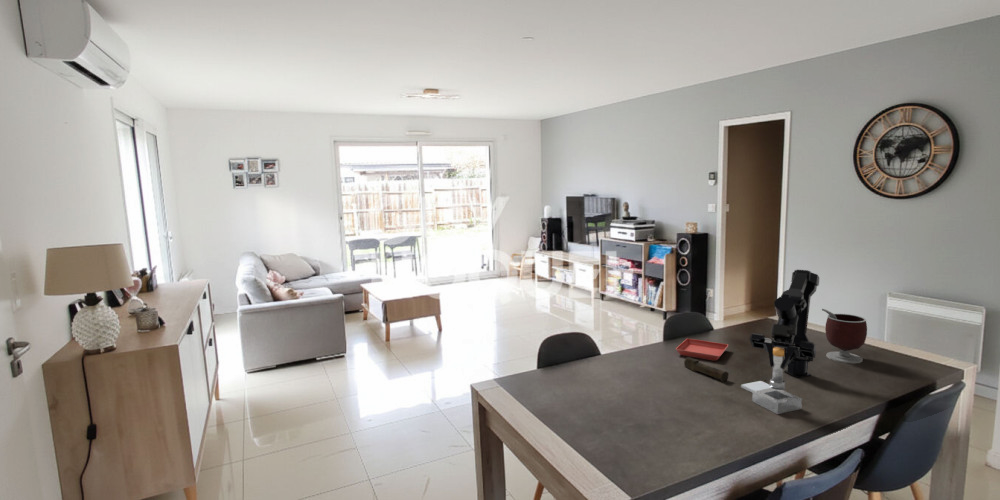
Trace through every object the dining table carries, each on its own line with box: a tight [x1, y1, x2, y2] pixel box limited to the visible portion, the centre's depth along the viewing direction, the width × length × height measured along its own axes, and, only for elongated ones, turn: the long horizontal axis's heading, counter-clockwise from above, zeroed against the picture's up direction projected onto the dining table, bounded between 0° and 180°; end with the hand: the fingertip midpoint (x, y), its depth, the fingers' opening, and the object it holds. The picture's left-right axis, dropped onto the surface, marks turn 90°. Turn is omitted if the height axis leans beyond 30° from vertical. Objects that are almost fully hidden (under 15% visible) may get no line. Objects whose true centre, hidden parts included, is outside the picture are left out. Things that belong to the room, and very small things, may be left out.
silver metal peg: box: [769, 346, 786, 391], centre depth 161 cm, size 4×4×13 cm
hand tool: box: [683, 356, 729, 383], centre depth 191 cm, size 19×4×5 cm, turn 26°
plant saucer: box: [675, 338, 730, 362], centre depth 214 cm, size 18×18×3 cm
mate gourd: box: [821, 308, 868, 364], centre depth 202 cm, size 16×14×20 cm
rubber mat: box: [740, 380, 771, 394], centre depth 174 cm, size 9×9×1 cm
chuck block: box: [751, 388, 803, 415], centre depth 162 cm, size 10×10×4 cm
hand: (776, 367), depth 160 cm, fingers closed on silver metal peg, 3 cm apart
